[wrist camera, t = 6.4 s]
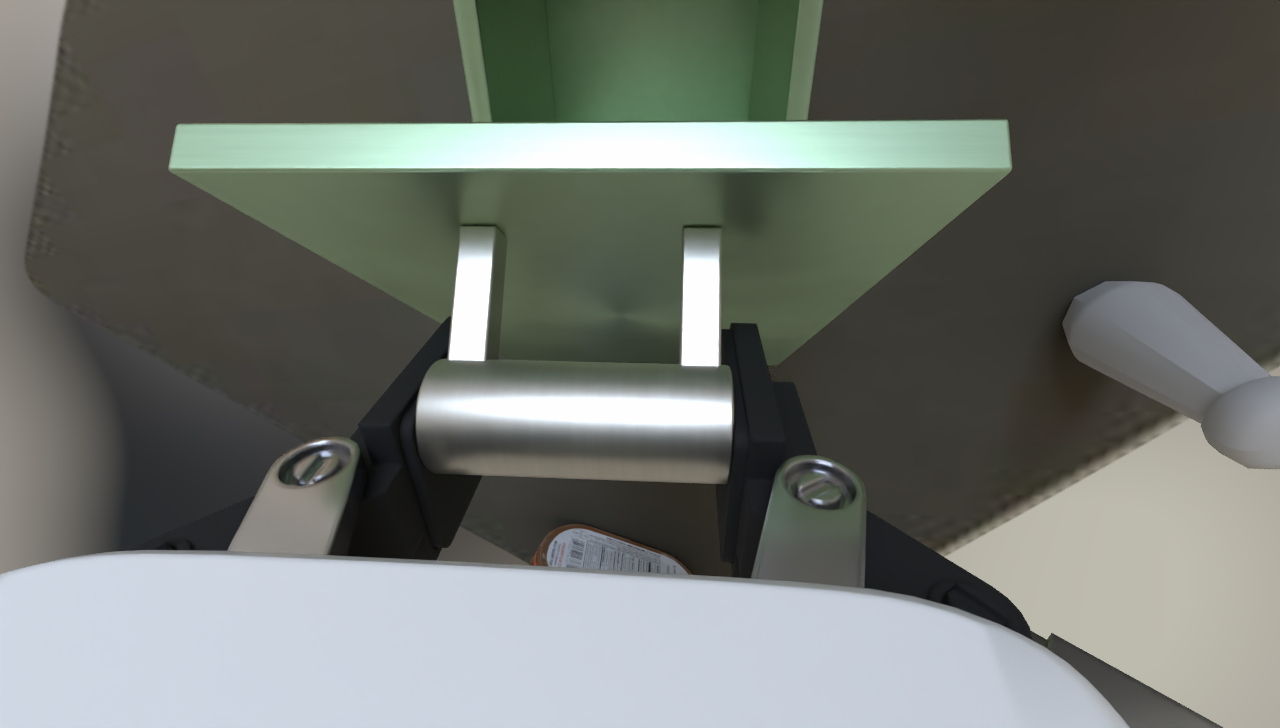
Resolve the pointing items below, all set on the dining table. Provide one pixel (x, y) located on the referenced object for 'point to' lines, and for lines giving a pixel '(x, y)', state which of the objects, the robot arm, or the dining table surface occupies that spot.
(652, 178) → the bin lid
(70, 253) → the dining table surface
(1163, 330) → the salt shaker
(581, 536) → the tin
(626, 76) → the bin
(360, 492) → the robot arm
